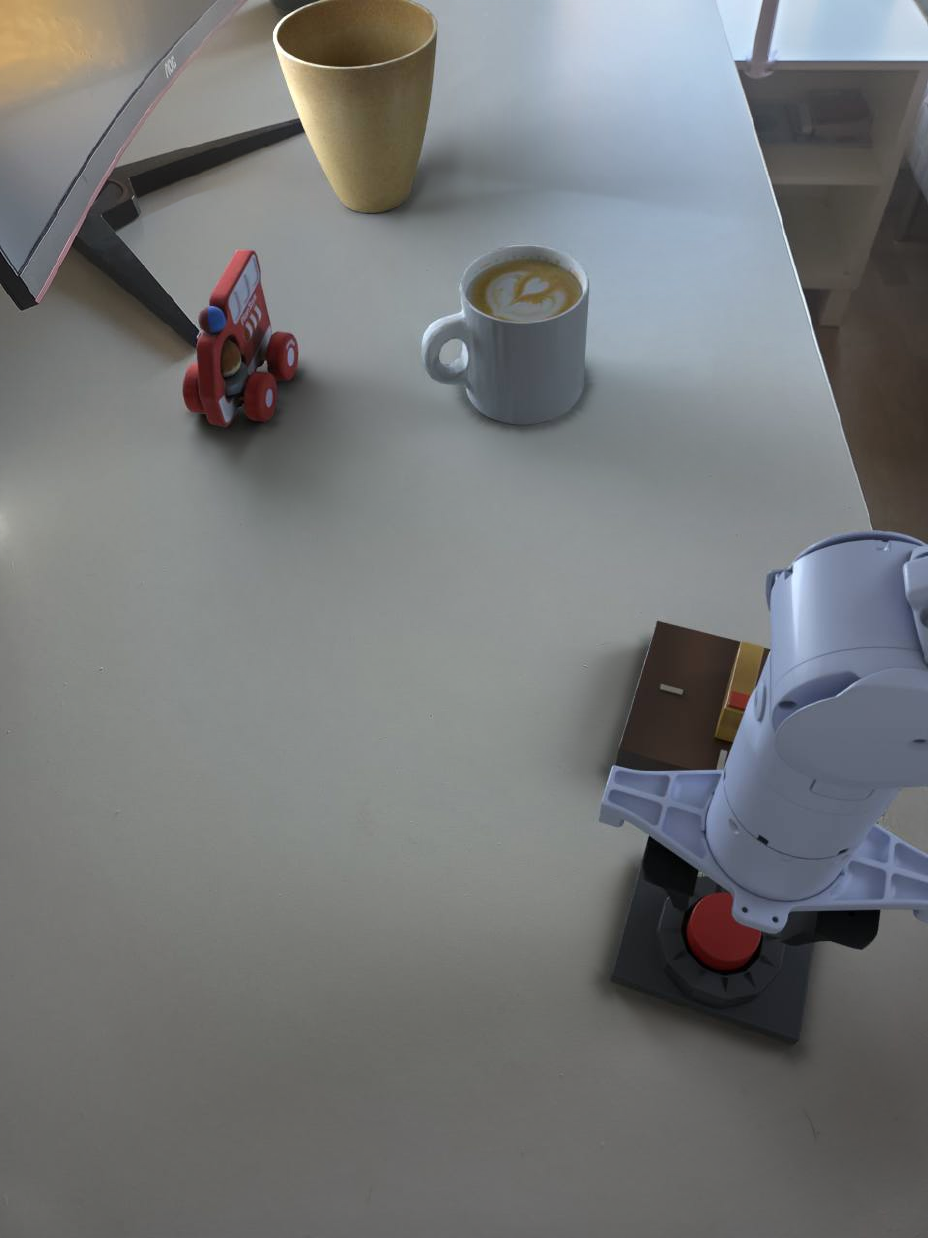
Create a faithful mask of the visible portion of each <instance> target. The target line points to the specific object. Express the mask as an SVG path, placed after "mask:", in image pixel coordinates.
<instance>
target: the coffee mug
mask: <svg viewBox="0 0 928 1238" xmlns="http://www.w3.org/2000/svg"><path fill="white" fill-rule="evenodd" d="M459 299H460V305H461V311H460V312H457V313H454V314H450V315H446V316H444V317H441V318H439V319H437V320H434V322H432V323H431V324H429V326H428V327H427V328H426V330H425V332H424V334H423V336H422V340H421V347H420V349H421V357H422V361H423V364H424V369H425V370H426V372H427V373H428V375H429V377H431V379H433V380H434V381H435V382H437V383H439V384H441V385H442V384H443V385H448V386H449V385H450V386H451V385H453V386H463V387H465V389H466V394H467V398H468V399H469V401H470V403H471V404H472V405H473V407H475V409H477V411H479V412H480V413H481V414H483V415H484V416H486V417H488V418H490V419H492V420H494V421H498V422H501V423H503V424H509V425H510V424H511V425H518V426H519V425H520V426H526V425H528V426H529V425H538V424H542V423H546V422H550V421H552V420H555V419H557V418H559V417H561V416H563V415H564V414H566V413H567V412H569V411H570V410H571V409H573V407H575V405H576V404H577V403H578V401H579V400H580V398H581V397H582V394H583V390H584V381H585V380H584V379H585V365H586V347H587V332H588V330H587V329H588V317H589V316H588V315H589V299H590V279H589V274H588V272H587V271H586V269H585V267H584V266H583V264H582V263H581V262H580V261H579V260H578V259H577V258H575V257H573V255H571V254H568V253H567V252H565V251H562V250H560V249H557V248H554V247H551V246H550V247H549V246H545V245H539V244H515V245H514V244H513V245H509V246H504V247H499V248H497V249H494V250H491V251H488V252H486V253H484V254H483V255H481V256H479V257H477V258H475V260H474V261H472V262H471V263H470V264H469V265H468V266H467V267H466V268H465V270H464V272H463V274H462V275H461V278H460V281H459ZM456 339H457V340H459V341H461V342H462V347H461V352H460V353H459V355H458V357H457V358H456V359H455V360H454V361H453V362H450V363H443V362H441V360H440V353H441V349H442V347H444V345H445V344H446V343H448V342H450V341H451V340H456Z"/></svg>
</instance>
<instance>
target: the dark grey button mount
mask: <svg viewBox="0 0 928 1238" xmlns="http://www.w3.org/2000/svg"><path fill="white" fill-rule="evenodd" d="M715 893H727V894H731V893H730V892H729V891H728V890H726V889H725V888H723V887H722V886H720V885H719V884H718V883H716V882H715V881H713V880H712V879H710V878H709V877H708V876H706V875H704V876H698V877H697V881H696V885H695V890H694V894H693V897H690V899H689V903H688V907H687V910H686V911H682V910H679V909H676V908H673V906H672V902H671V899H670V897H669V895H668V894H667V892H666V891H665V890H664V889H663V888H662V887H659V886H656V885H653V884H651V883H649V882H647V881H645V880H644V877H643V872H642V859H641V861H640V864H639V868H638V872H637V876H636V880H635V883H634V886H633V891H632V894H631V899H630V902H629V905H628V909H627V910H628V911H627V913H626V917H625V921H624V925H623V928H622V932H621V936H620V940H619V944H618V947H617V950H616V954H615V959H614V962H613V966H612V968H611V969H612V970H611V973H610V978H609V982H610V983H613V984H615V985H617V986H621V987H624V988H626V989H630V990H633V991H635V992H638V993H641V994H644V995H647V996H650V997H653V998H656V999H659V1000H662V1001H665V1002H667V1003H670V1004H673V1005H676V1006H679V1007H682V1008H684V1009H688V1010H691V1011H693V1012H697V1013H699V1014H701V1015H704V1016H707V1017H710V1018H714V1019H716V1020H719V1021H722V1022H725V1023H727V1024H730V1025H734V1026H737V1027H739V1028H742V1029H745V1030H748V1031H750V1032H754V1033H757V1034H759V1035H762V1036H765V1037H768V1038H771V1039H774V1040H777V1041H779V1042H782V1043H784V1044H785V1043H786V1044H788V1045H791V1046H796V1044H798V1042H799V1041H800V1040H801V1033H802V1027H803V1026H802V1025H803V1019H804V1015H805V1014H804V1013H805V1006H806V1001H807V994H808V988H809V982H810V981H809V980H810V973H811V967H812V962H813V953H814V948H815V942H814V943H808V944H803V945H799V946H791V945H787V944H784V943H781V942H780V939H781V933H782V930H781V931H780V932H778V933H776V934H771V933H766V932H763V931H761V939H760V942H759V945H758V947H757V948H756V950H755V952H754V953H753V955H752V956H751V958H750V959H749V960H748V962H747V963H745V964H744V965H743V966H741V967H739V968H737V969H734V970H728V971H723V970H717V969H714V968H711V967H709V966H707V965H705V964H704V963H702V962H701V961H700V960H699V959H698V958H697V957H696V956H695V955H694V953H693V952H692V950H691V948H690V946H689V943H688V940H687V925H688V921H689V919H690V917H691V914H692V912H693V910H694V908H695V906H696V905H697V903H698V902H699V901H700V900H702V899H703V898H705V897H706V896H708V895H711V894H715Z"/></svg>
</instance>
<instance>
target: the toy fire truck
mask: <svg viewBox="0 0 928 1238" xmlns="http://www.w3.org/2000/svg"><path fill="white" fill-rule="evenodd" d="M261 272H262V270H261V265H260V262H259V257H258V254H257V252H256V251H255V250H253V249H240V248H239V249H236V250H235V251H234V253H233V255H232V257H231V259H230V260H229V262H228V264H227V266H226V268H225V269H224V271H223V272H222V274H221V275H220V278H219V279H218V281H217V283H216V284H215V287H214V288H213V290H212V292H211V293H210V296H209V301H208V305H207V306H205V307H203V308H202V309H201V310H200V311H199V314H198V318H197V320H198V326H199V329H200V330H202V331H201V334H200V335H199V338H198V340H197V344H196V361H197V362H194V363H192V364H190V365H189V366H188V367H187V369H186V370H185V373H184V377H183V381H182V397H183V402H184V404H185V407H186V408H187V410H189V412H192V413H196V414H203V415H205V416H206V420H207V421H208V423H209V424H210V425H214V426H218V427H223V428H224V427H225V428H226V427H228V426H229V425H230V424H231V423H232V421H233V419H234V417H235V415H236V412H237V411H238V409H240V408H242V407H243V409H244V413H245V415H246V416H247V417H248V418H249V419H250V420H252V421H255V422H262V423H263V422H267V421H269V420H270V419H271V418H272V417H273V416H274V414H275V413H274V412H275V410H276V408H277V407H276V406H277V401H278V386H277V381H280V382H289V381H291V380H292V379H293V377H295V374H296V372H297V368H298V363H299V345H298V341H297V338H296V337H295V335H294V334H293V333H292V332H287V331H280V330H279V331H275V332H273V330H272V329H273V328H272V323H271V320H270V319H271V318H270V316H269V311H268V306H267V302H266V298H265V294H264V289H263V286H262V279H261V278H262V275H261V274H262V273H261ZM265 361H266V365H267V367H266V370H267V371H260V370H258V369H259V368H260V367H263V366H264V363H265Z"/></svg>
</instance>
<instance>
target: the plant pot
mask: <svg viewBox="0 0 928 1238" xmlns="http://www.w3.org/2000/svg"><path fill="white" fill-rule="evenodd" d="M438 27H439V26H438V20H437V18H436V17H435V14H433V13H432V11H431V10H429V9H428V8H427V7H425V6H424V5H422V4H421V3H418V2H416V1H413V0H318V1H314V2H311V3H309V4H306V5H304V6H303V5H302V6H301V7H299V8H297V9H295V10H294V11H292V12H290V13H289V14H287V15H286V16H284V17H283V18H282V19H280V21H279V22H278V23H277V25H276V26H275V28H274V30H273V35H272V39H273V40H272V41H273V44H274V47H275V50H276V54H277V57H278V60H279V64H280V68H281V70H282V73H283V76H284V79H285V82H286V85H287V88H288V90H289V93H290V97H291V99H292V102H293V104H294V106H295V110H296V112H297V115H298V117H299V120H300V123H301V125H302V127H303V130H304V132H305V135H306V137H307V139H308V141H309V144H310V146H311V148H312V150H313V152H314V155H315V157H316V159H317V161H318V163H319V165H320V167H321V169H322V170H323V173H324V174H325V177H326V178H327V180H328V182H329V184H330V185H331V188H332V189H333V191H334V193H335V195H336V196H337V198H338V200H339V201H340V202H341V204H342V205H343V206H344V207H346V208H347V209H350V210H351V211H353V212H357V213H365V214H377V213H382V212H387V211H390V210H393V209H395V208H397V207H400V206H401V205H402V204H403V203H405V201H406V200H407V199H408V197H409V196H410V192H411V190H412V186H413V183H414V179H415V176H416V173H417V170H418V165H419V161H420V157H421V153H422V150H423V146H424V140H425V136H426V131H427V125H428V120H429V115H430V114H429V113H430V107H431V101H432V94H433V86H434V78H435V77H434V76H435V74H434V73H435V66H436V65H435V64H436V55H437V41H438Z"/></svg>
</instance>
